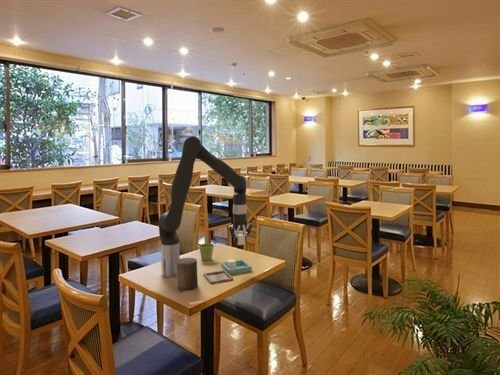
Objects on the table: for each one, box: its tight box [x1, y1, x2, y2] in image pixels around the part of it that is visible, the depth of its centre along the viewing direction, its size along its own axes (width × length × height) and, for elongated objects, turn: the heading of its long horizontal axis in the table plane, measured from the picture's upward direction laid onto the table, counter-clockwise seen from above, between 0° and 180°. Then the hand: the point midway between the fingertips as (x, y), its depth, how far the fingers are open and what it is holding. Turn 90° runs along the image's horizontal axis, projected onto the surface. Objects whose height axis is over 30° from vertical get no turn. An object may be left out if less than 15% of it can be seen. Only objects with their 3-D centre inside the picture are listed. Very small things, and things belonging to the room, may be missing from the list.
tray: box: [202, 269, 234, 285], centre depth 182 cm, size 12×13×2 cm
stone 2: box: [236, 233, 246, 246], centre depth 193 cm, size 4×4×5 cm
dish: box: [220, 259, 253, 275], centre depth 194 cm, size 13×13×3 cm
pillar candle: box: [176, 257, 199, 292], centre depth 170 cm, size 10×10×15 cm
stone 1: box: [226, 258, 236, 269], centre depth 193 cm, size 4×4×5 cm
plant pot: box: [198, 242, 215, 262], centre depth 212 cm, size 9×9×9 cm
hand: (240, 242), depth 193 cm, fingers closed on stone 2, 4 cm apart
